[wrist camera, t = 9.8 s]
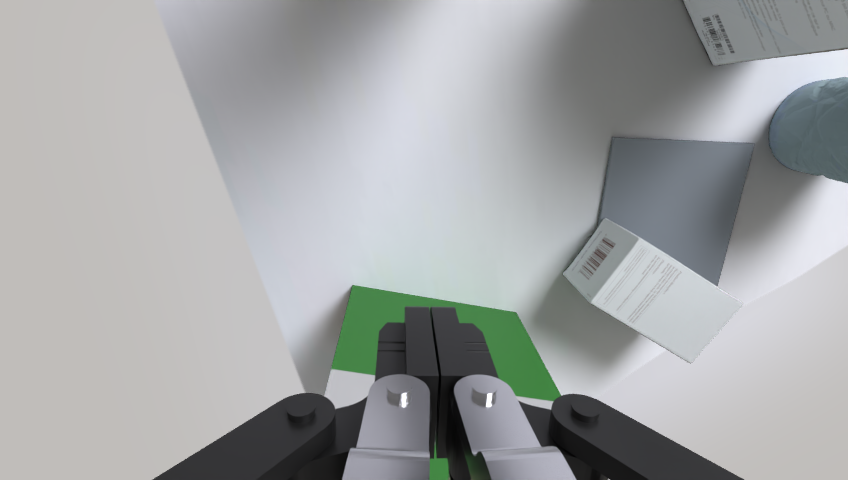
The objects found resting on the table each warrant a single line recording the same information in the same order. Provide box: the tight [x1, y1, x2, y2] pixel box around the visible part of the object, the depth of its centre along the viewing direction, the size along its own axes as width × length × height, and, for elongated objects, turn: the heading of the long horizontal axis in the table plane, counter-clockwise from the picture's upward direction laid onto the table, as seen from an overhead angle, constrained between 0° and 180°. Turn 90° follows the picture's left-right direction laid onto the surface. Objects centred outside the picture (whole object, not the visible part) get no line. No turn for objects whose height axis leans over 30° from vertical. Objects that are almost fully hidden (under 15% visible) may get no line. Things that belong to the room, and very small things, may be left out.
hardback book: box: [324, 285, 561, 480], centre depth 37 cm, size 18×7×24 cm, turn 78°
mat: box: [597, 137, 755, 286], centre depth 45 cm, size 15×14×1 cm
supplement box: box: [563, 218, 743, 363], centre depth 43 cm, size 7×7×13 cm
